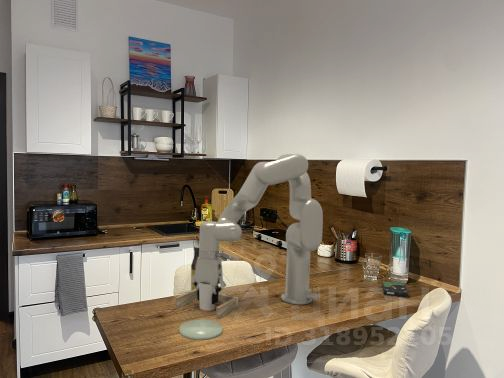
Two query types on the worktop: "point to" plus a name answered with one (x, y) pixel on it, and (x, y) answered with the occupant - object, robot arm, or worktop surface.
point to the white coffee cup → (206, 296)
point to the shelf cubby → (224, 301)
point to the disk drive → (395, 289)
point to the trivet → (201, 329)
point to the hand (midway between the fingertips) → (207, 301)
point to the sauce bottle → (194, 265)
